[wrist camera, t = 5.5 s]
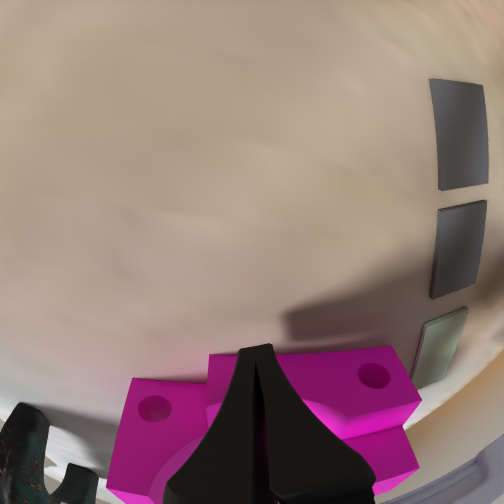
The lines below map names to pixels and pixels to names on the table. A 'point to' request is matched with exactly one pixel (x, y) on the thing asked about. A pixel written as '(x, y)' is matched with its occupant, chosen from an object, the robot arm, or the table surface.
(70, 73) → the table surface
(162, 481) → the toy block
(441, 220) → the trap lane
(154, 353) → the table surface
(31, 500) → the ceramic cat
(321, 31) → the table surface
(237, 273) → the table surface
